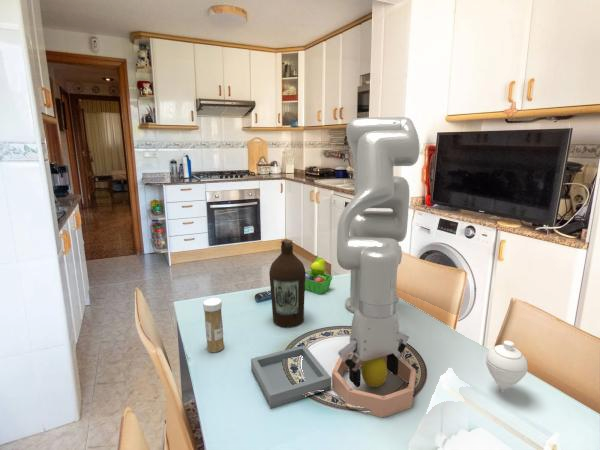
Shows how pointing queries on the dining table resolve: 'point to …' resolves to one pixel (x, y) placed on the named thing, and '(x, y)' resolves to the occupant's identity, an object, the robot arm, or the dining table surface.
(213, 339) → the sprinkles bottle
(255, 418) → the dining table surface
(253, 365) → the grey tray
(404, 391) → the terracotta ring
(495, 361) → the spinning top
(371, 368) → the lemon
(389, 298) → the robot arm
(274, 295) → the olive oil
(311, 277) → the fruit basket
